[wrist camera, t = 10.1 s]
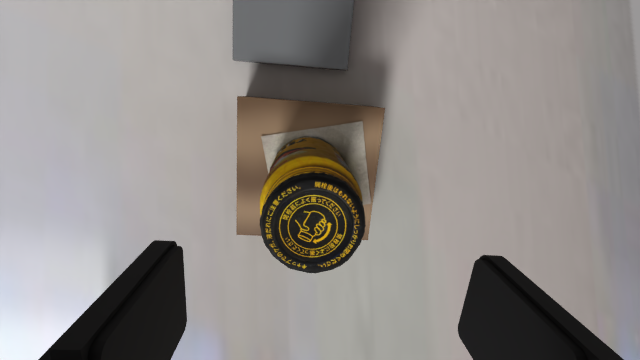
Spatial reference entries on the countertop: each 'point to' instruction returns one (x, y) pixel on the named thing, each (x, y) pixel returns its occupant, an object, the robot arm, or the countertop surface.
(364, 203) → the condiment
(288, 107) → the block
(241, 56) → the coaster
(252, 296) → the countertop surface
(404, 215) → the countertop surface
